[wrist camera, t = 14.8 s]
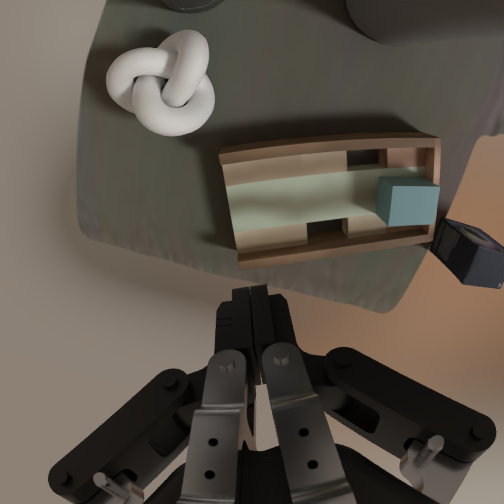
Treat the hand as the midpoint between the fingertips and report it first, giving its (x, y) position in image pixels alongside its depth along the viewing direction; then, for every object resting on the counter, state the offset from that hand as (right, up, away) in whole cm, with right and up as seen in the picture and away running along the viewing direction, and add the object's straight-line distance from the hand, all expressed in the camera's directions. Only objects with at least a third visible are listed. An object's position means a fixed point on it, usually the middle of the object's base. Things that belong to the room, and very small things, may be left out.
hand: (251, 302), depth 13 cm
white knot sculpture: (-9, +22, +19) cm, 30 cm away
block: (+19, +10, +23) cm, 31 cm away
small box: (+34, +5, +30) cm, 46 cm away
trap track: (+11, +10, +25) cm, 29 cm away
